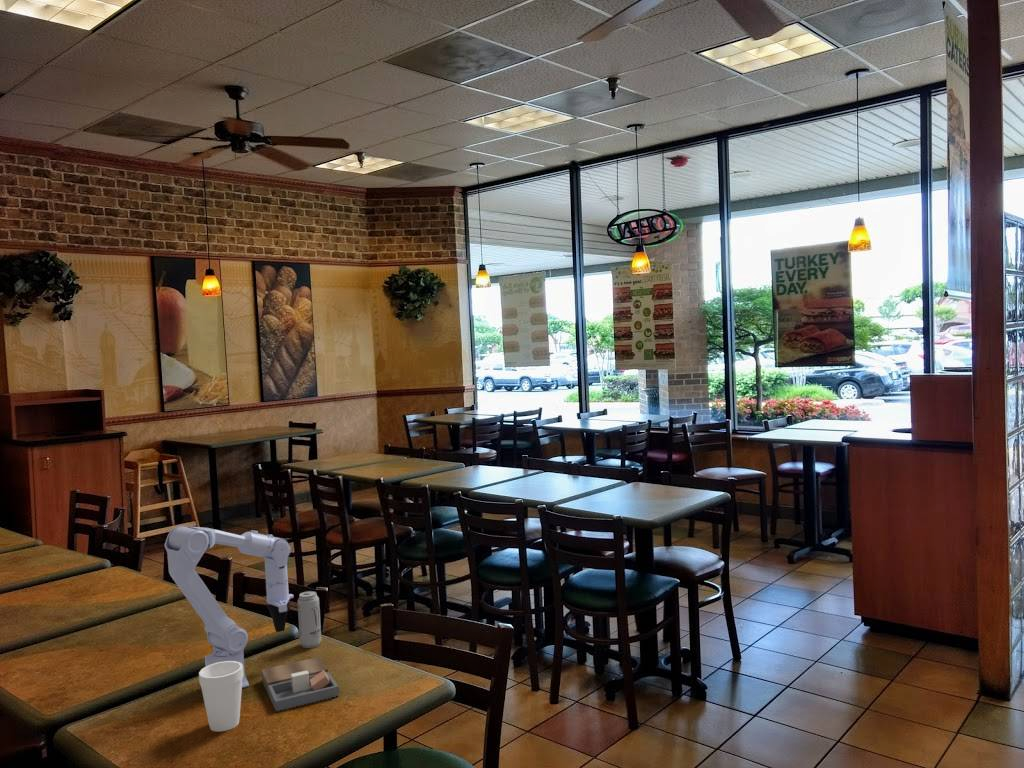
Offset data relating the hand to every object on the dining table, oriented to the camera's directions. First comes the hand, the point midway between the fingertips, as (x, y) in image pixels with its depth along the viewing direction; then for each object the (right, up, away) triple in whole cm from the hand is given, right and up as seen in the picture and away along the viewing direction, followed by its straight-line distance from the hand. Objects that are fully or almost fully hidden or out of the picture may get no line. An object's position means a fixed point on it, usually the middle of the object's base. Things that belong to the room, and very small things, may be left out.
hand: (279, 630), depth 209 cm
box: (+12, -10, -19) cm, 25 cm away
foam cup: (-3, -11, -33) cm, 35 cm away
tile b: (+16, -8, -17) cm, 24 cm away
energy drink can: (+5, -9, +14) cm, 17 cm away
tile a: (+10, -7, -16) cm, 20 cm away
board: (+7, -10, -10) cm, 16 cm away
